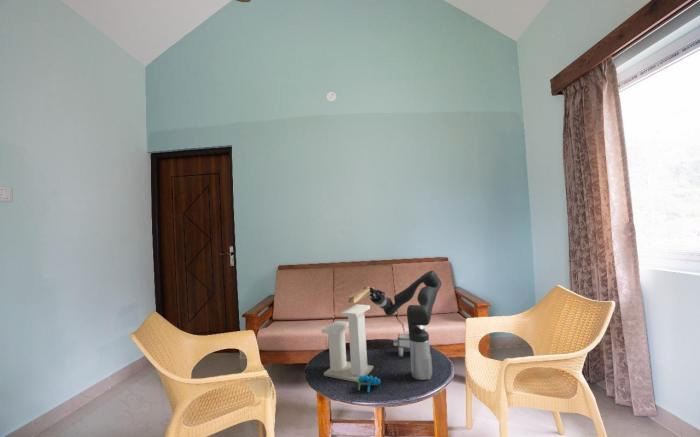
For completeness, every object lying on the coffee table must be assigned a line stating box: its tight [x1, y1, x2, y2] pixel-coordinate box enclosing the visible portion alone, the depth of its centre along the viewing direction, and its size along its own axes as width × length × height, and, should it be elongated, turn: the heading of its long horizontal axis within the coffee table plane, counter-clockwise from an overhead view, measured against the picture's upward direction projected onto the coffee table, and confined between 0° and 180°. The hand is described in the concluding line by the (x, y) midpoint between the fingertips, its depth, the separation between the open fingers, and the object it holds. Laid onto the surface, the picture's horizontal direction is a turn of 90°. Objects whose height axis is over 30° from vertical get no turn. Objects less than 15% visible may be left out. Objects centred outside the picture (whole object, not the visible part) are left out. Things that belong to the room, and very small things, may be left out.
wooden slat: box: [347, 286, 375, 304], centre depth 160 cm, size 3×25×3 cm, turn 152°
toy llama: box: [393, 325, 426, 358], centre depth 172 cm, size 8×18×20 cm, turn 78°
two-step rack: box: [321, 303, 375, 383], centre depth 155 cm, size 20×16×32 cm
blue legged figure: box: [355, 375, 381, 393], centre depth 136 cm, size 11×6×10 cm
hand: (367, 288), depth 166 cm, fingers closed on wooden slat, 3 cm apart
